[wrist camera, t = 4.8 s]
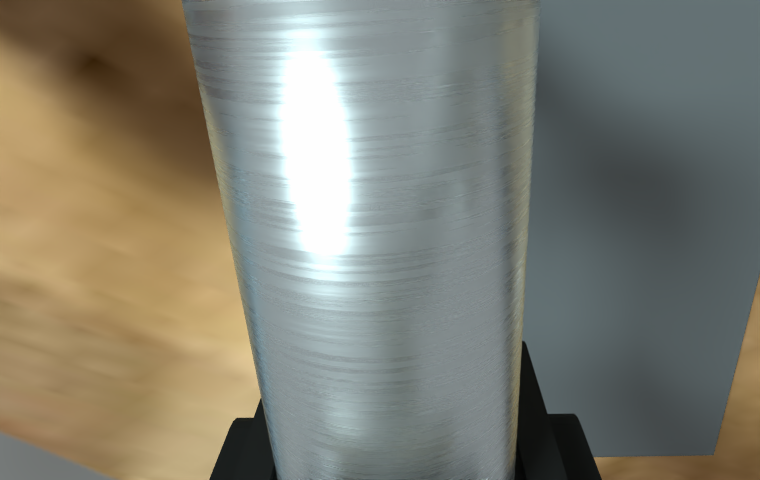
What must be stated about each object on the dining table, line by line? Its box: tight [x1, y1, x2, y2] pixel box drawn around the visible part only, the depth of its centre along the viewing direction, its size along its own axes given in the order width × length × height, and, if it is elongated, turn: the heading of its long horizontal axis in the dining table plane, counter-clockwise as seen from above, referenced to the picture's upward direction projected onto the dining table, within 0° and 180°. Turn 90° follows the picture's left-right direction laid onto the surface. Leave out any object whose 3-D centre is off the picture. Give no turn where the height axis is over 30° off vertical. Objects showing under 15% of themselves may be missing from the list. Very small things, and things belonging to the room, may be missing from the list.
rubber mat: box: [522, 0, 760, 457], centre depth 22 cm, size 10×30×1 cm, turn 4°
